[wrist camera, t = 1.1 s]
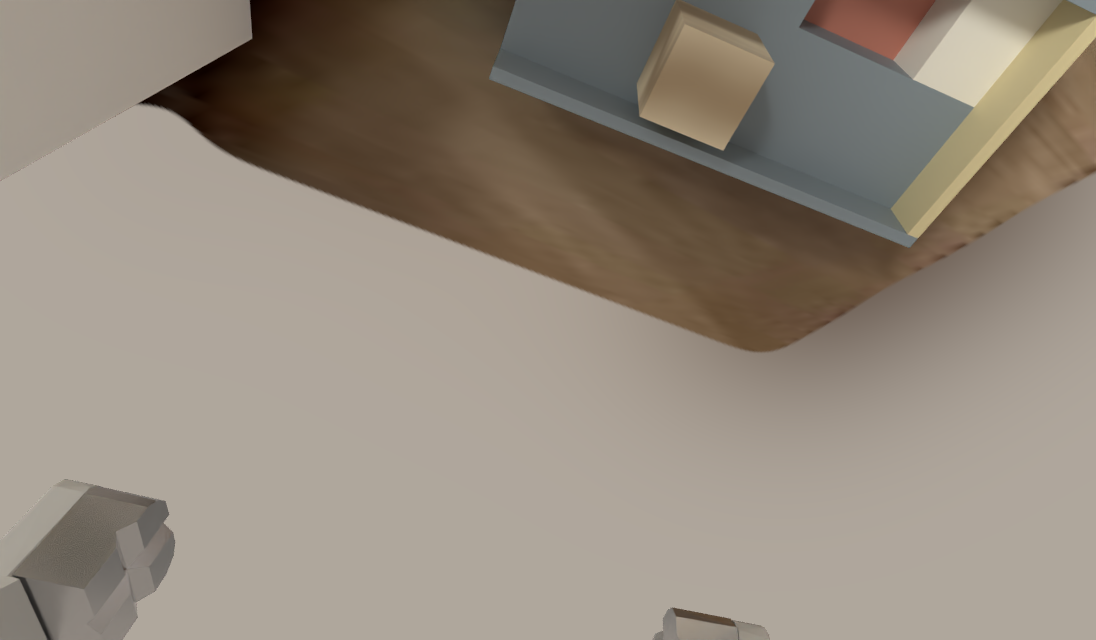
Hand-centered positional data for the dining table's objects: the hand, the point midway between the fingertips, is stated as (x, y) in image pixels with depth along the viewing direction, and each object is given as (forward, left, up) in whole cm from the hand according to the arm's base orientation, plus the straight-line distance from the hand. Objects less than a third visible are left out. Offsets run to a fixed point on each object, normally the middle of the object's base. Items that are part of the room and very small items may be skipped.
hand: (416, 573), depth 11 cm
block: (-3, +7, -26) cm, 27 cm away
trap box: (-5, +9, -29) cm, 31 cm away
